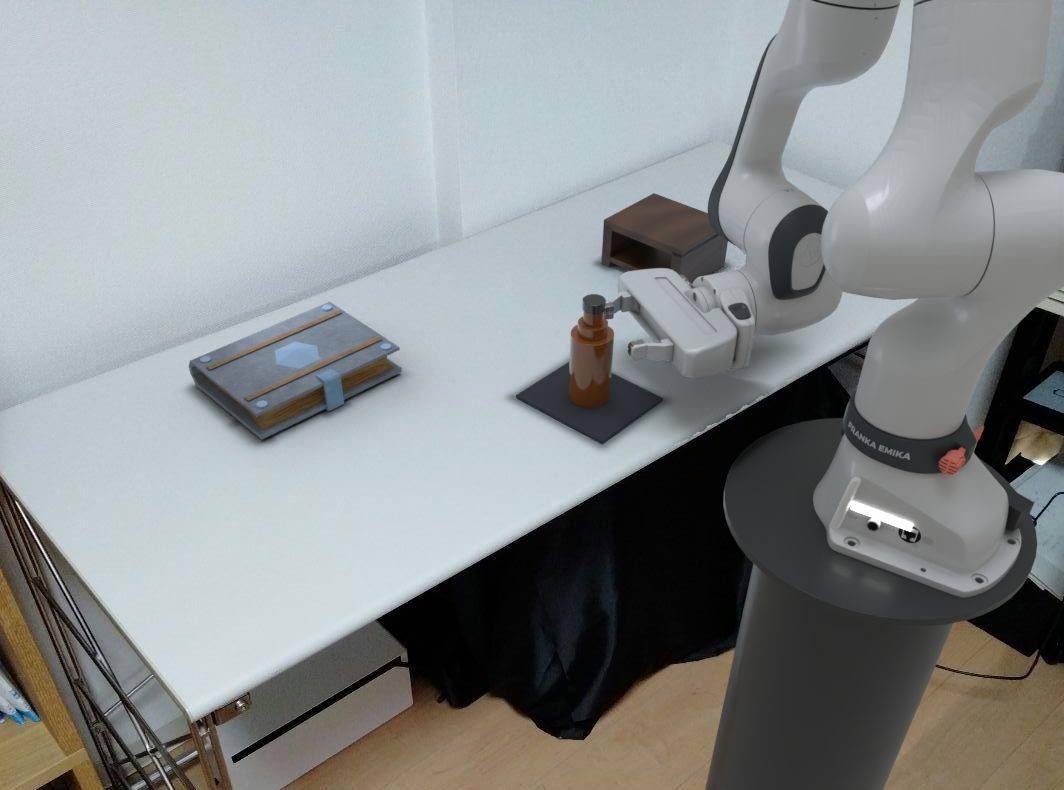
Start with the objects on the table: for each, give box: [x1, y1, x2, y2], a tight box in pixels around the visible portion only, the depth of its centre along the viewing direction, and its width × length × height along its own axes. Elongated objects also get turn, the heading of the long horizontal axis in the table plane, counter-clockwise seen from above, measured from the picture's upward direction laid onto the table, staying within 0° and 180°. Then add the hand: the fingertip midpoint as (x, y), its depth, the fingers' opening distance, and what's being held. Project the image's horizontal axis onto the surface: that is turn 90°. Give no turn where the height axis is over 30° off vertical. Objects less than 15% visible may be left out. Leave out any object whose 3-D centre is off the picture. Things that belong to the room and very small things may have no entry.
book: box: [188, 301, 403, 440], centre depth 131 cm, size 21×16×5 cm
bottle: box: [568, 293, 615, 408], centre depth 125 cm, size 5×5×14 cm
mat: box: [515, 360, 664, 445], centre depth 130 cm, size 14×12×1 cm
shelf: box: [600, 192, 729, 283], centre depth 153 cm, size 14×12×7 cm
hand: (613, 331), depth 124 cm, fingers open, 8 cm apart
